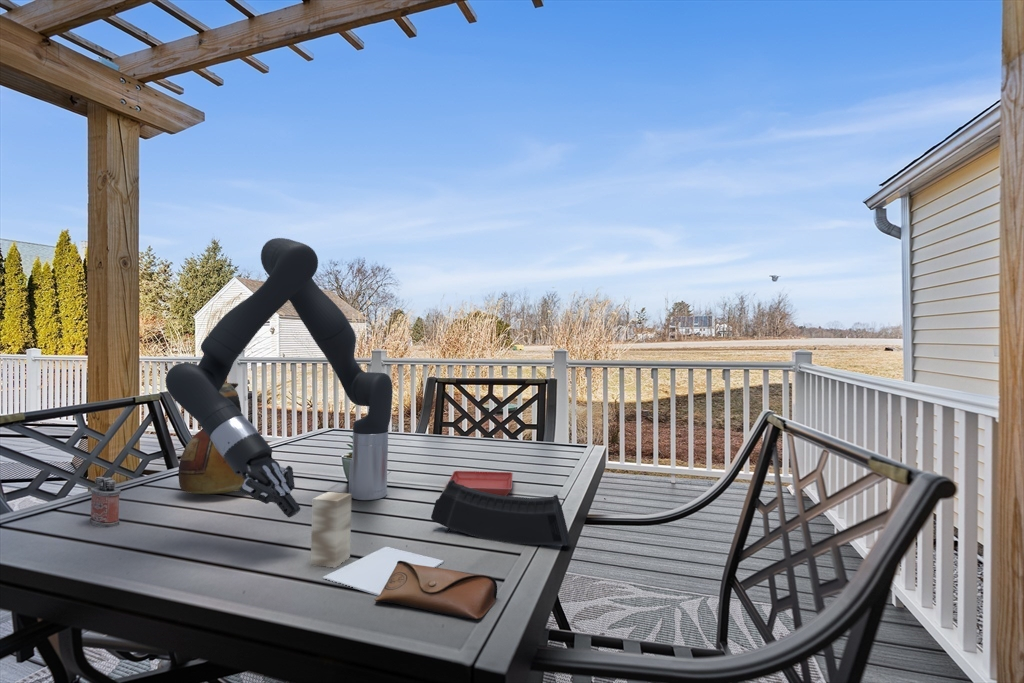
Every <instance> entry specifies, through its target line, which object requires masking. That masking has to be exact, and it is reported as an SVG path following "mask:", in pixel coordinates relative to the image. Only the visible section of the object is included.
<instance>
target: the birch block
mask: <svg viewBox="0 0 1024 683" xmlns="http://www.w3.org/2000/svg"><path fill="white" fill-rule="evenodd" d="M351 495H352V494H348V493H347V492H346V493H345V492H336V491H335V492H334V491H327V492H323V494H320V495H318V496H316V497H314V498H312V502H311V533H310V534H311V536H310V537H311V541H310V566H313V565H316V566H315V567H321V566H326V567H325V568H330V567H333V568H332V569H336V568H338V567H339V566H340V565H342V564H343V563H345V562H346V561H347V560H348V559H350V558H351V534H352V533H351V531H352V530H351V528H352V497H351ZM349 557H350V558H349ZM346 559H347V560H346ZM345 560H346V561H345ZM342 562H343V563H342ZM341 563H342V564H341ZM337 566H338V567H337Z"/></svg>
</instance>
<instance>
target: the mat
mask: <svg viewBox="0 0 1024 683" xmlns="http://www.w3.org/2000/svg"><path fill="white" fill-rule="evenodd" d="M398 561H405V562H408V563H411V564H415V565H422V566H429V567H436V568H438V567H439V566H440V564H441V565H442V564H444V563H445V560H442V559H438V558H435V557H431V556H426V555H421V554H419V553H414V552H410V551H406V550H401V549H397V548H393V547H389V546H384V547H381V548H380V549H377V550H376V551H374V552H372V553H369V554H367V555H365V556H363V557H361V558H360V559H359V558H358V559H357V560H355V561H353V562H351V563H349V564H346V565H345V566H342V567H340V568H338V569H337V570H334V571H332V572H330V573H328V574H326V575H324V576H322V579H323V580H325V579H327V580H326V581H328V580H330V581H329V582H332V581H333V583H335V582H337V583H336V584H338V583H341V584H340V585H342V584H344V585H343V586H345V585H347V586H346V587H348V586H350V587H349V588H351V587H353V588H352V589H355V590H359V591H361V592H365V593H369V594H371V595H375V596H377V597H378V596H379V595H380V594H381V592H382V590H383V588H384V586H385V585H386V583H387V581H388V579H389V577H390V576H391V574H392V572H393V570H394V569H395V567H396V565H397V562H398Z"/></svg>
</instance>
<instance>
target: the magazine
mask: <svg viewBox="0 0 1024 683" xmlns="http://www.w3.org/2000/svg"><path fill="white" fill-rule="evenodd" d="M447 483H448V485H447ZM447 483H446V484H445V486H444V488H443V489H442V492H441V494H440V496H439V497H438V498H437V499H436V500H435V502H434V503H435V504H434V506H433V509H432V513H431V516H430V519H431V520H432V522H435V523H437V524H439V525H441V526H444V527H445V528H446V533H449V532H450V531H452V530H453V531H455V532H459V533H462V534H464V535H465V534H466V535H468V536H469V535H470V536H471V537H476V538H480V539H483V540H486V541H487V540H488V541H495V542H498V543H499V542H501V543H506V544H507V543H508V544H516V545H527V546H528V545H529V546H531V545H533V546H535V545H536V546H541V545H543V546H545V545H546V546H550V545H552V546H553V545H554V546H557V545H558V546H564V547H565V546H568V545H569V544H570V542H571V538H570V534H569V531H568V527H567V523H566V519H565V515H564V511H563V507H562V504H561V502H560V499H559V496H558V494H555V495H553V496H547V497H524V496H512V495H511V496H509V495H506V496H502V495H496V494H491V493H486V492H482V491H478V490H475V489H471V488H468V487H465V486H464V485H459V484H457V483H455V481H454V480H451V481H449V480H448V482H447ZM448 531H449V532H448Z"/></svg>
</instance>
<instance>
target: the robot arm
mask: <svg viewBox="0 0 1024 683" xmlns="http://www.w3.org/2000/svg"><path fill="white" fill-rule="evenodd" d="M260 262H261V265H262V268H263V270H264V272H266V273H267V275H268V277H267V279H266V280H265V281H264V283H262V284H261V286H260V287H258V289H257V290H255V292H253V293H252V294H251V295H250V296H249V297H247V298H246V299H244V300H243V301H241V302H240V303H239V304H237V305H235V306H234V307H233V308H231V309H230V310H228V312H227V313H226V314H225V315H224V316H223V317H221V319H220V320H219V321H218V322H217V323H216V325H215V326H214V327H213V328H212V329H211V331H210V332H209V333H208V334H207V335H206V337H205V338H204V339H203V341H202V343H201V345H200V350H201V352H202V353H203V356H202V357H201V359H200V362H199V363H198V364H196V363H192V362H182V363H177V364H175V365H174V366H172V367H171V368H170V369H169V370H168V372H167V373H166V376H165V387H166V389H167V392H168V393H169V394H170V396H171V397H172V398H173V399H174V401H175V402H176V403H177V404H179V406H181V407H182V408H183V409H184V411H186V412H187V413H188V414H190V416H191V417H193V418H194V419H195V420H196V421H197V422H198V424H199V426H200V427H201V429H203V430H204V431H205V432H206V434H207V435H208V436H209V438H210V439H211V440H212V442H213V444H214V446H215V448H216V449H217V450H218V452H219V453H220V454H221V456H222V457H223V458H224V460H225V461H226V462H227V463H228V465H229V466H230V467H231V469H232V470H233V471H234V473H235V474H236V475H242V477H243V479H244V480H245V481H244V484H243V485H242V486H241V487H240V491H239V492H240V493H243V494H245V495H247V496H249V497H251V498H253V499H255V500H257V501H259V502H262V503H263V504H264V505H265V504H266V505H269V503H273V504H275V505H277V507H278V508H279V509H280V510H281V511H282V513H283V514H284V516H286V517H287V518H292V517H295V516H296V515H297V514H298V513H299V512H300V511H301V507H300V505H299V504H298V502H297V501H296V500H295V498H294V497H293V495H292V494H291V493H292V491H293V490H294V489H295V488H296V486H295V478H294V471H293V467H292V466H291V465H287V466H286V467H283V466H280V463H279V462H278V461H276V460H275V459H274V458H273V457H272V454H273V449H272V447H271V446H270V444H268V441H267V440H266V439H265V438H264V437H263V435H262V434H261V433H260V432H259V431H258V429H257V428H256V427H255V426H254V424H253V423H252V422H251V421H249V419H248V418H247V417H245V415H244V414H243V413H242V411H241V412H240V410H239V409H238V408H237V407H236V405H235V404H234V403H233V402H232V401H231V400H230V399H228V398H227V397H225V396H223V395H222V394H221V393H220V392H219V391H220V389H221V388H222V386H223V384H224V383H226V380H227V378H228V377H229V375H230V372H231V370H232V368H233V365H234V363H235V361H236V360H237V359H238V358H239V356H240V355H241V354H242V352H244V351H245V349H246V347H247V346H248V345H249V343H250V342H251V341H252V340H253V338H254V337H255V336H256V335H257V333H258V332H259V331H260V330H261V329H262V328H263V326H265V324H266V323H268V321H269V320H270V319H271V318H272V317H273V316H274V315H275V314H276V313H277V312H278V311H279V310H280V309H281V308H282V307H283V306H284V305H285V304H286V303H287V302H288V301H289V302H290V303H291V305H292V307H293V308H294V310H295V312H296V314H297V315H298V317H299V318H300V320H301V322H302V323H303V325H304V326H305V328H306V329H307V331H308V332H309V335H310V337H311V338H312V339H313V341H314V342H315V344H316V346H317V347H318V348H319V349H320V351H321V352H322V354H323V356H325V358H326V359H327V362H328V363H329V364H330V367H331V368H332V369H333V371H334V372H335V375H336V376H337V378H338V380H339V382H340V384H341V386H342V388H343V390H344V392H345V394H346V396H347V397H348V399H349V400H350V402H352V403H353V404H354V405H356V406H359V407H360V406H361V407H368V412H367V415H366V416H364V417H363V418H362V417H361V418H359V419H357V420H355V421H354V422H353V424H352V456H351V459H350V460H349V462H348V464H349V465H348V468H349V469H348V494H352V495H351V499H353V500H359V501H372V500H373V501H374V500H379V499H383V498H385V497H387V494H388V457H389V453H388V452H389V449H388V448H389V425H390V421H391V418H392V417H391V416H392V404H393V391H394V390H393V381H392V379H391V377H390V376H389V374H387V373H384V372H371V371H370V372H367V371H364V370H363V369H362V368H361V367H360V365H359V364H358V362H357V360H356V358H355V351H356V346H357V344H356V343H357V336H356V333H355V330H354V328H353V326H352V325H351V323H350V321H349V320H348V318H347V317H346V315H345V313H344V312H343V311H342V310H341V308H339V306H338V305H337V304H336V303H335V302H334V301H333V300H332V299H331V297H329V296H328V295H327V293H325V292H324V291H323V290H322V289H321V287H319V286H318V284H317V283H316V282H315V280H314V279H313V278H314V275H315V274H316V272H318V271H317V270H318V267H319V258H318V256H317V254H316V252H315V250H314V249H313V248H312V247H311V246H309V245H308V244H305V243H303V242H300V241H297V240H292V239H289V238H285V237H279V238H278V237H277V238H272V239H269V240H268V241H266V242H265V243H264V244H263V246H262V249H261V252H260Z"/></svg>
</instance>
